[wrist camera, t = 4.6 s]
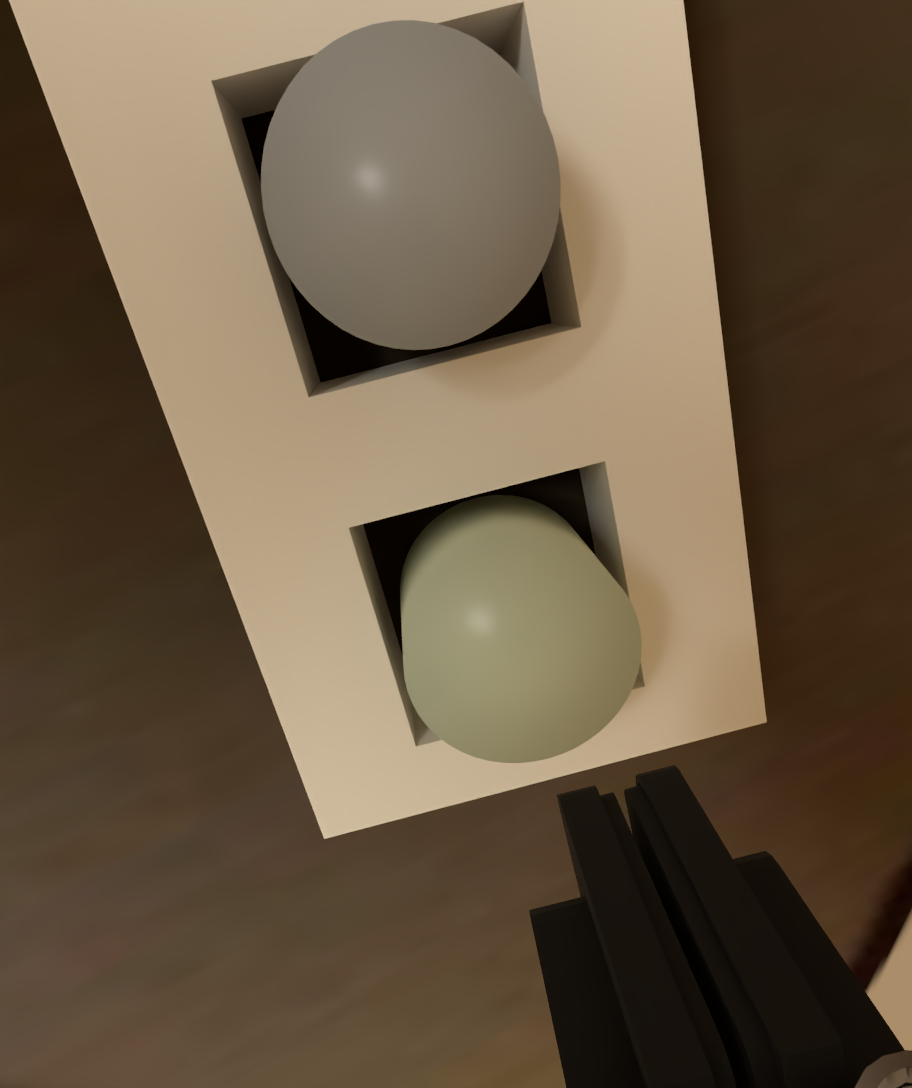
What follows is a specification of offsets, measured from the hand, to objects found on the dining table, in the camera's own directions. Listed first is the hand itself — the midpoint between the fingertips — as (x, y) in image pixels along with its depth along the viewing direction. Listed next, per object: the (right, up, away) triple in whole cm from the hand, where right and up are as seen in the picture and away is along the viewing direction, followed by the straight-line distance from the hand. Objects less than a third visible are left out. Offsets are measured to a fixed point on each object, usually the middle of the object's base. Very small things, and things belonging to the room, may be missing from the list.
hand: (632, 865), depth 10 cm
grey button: (-3, +12, +6) cm, 13 cm away
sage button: (-1, +3, +9) cm, 10 cm away
